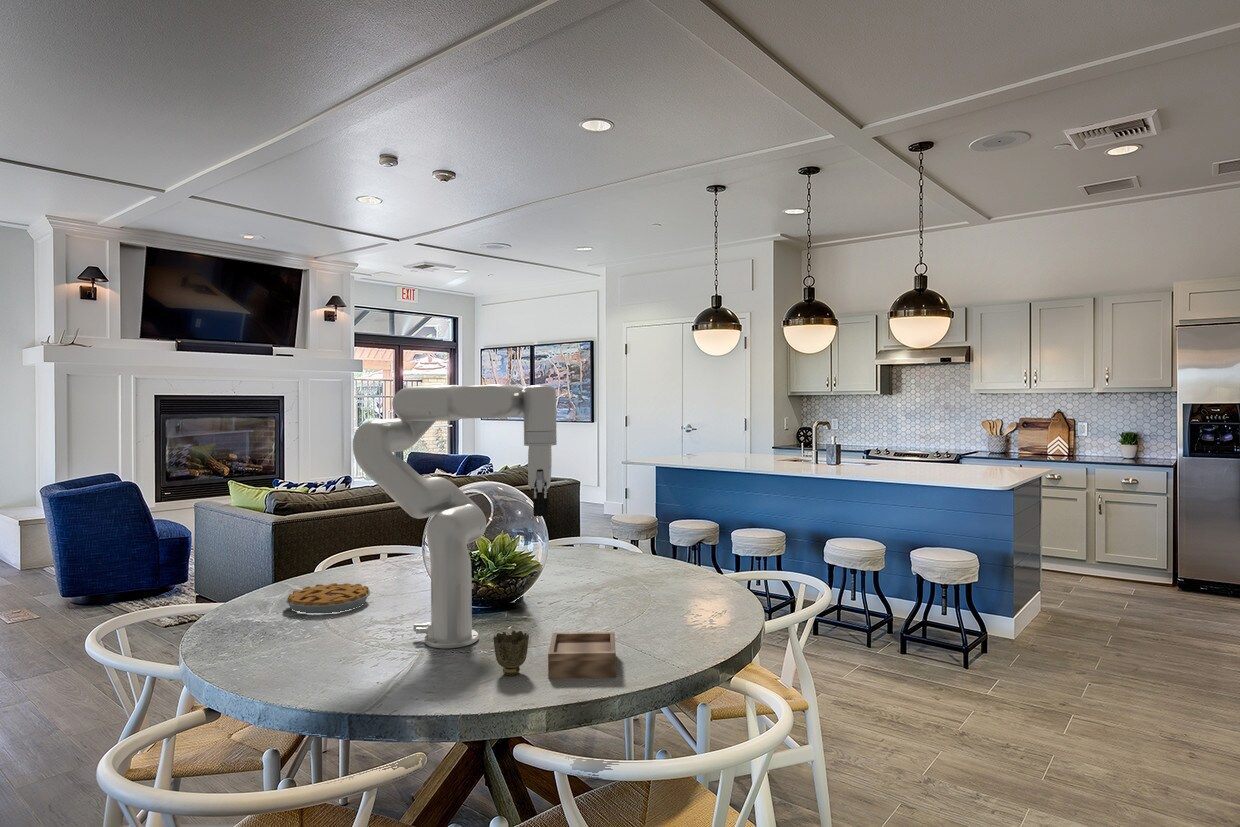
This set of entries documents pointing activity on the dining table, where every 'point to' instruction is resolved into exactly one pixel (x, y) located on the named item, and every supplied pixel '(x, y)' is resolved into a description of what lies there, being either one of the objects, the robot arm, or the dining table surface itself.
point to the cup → (511, 651)
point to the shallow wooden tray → (582, 655)
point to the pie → (328, 598)
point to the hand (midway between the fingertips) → (541, 512)
